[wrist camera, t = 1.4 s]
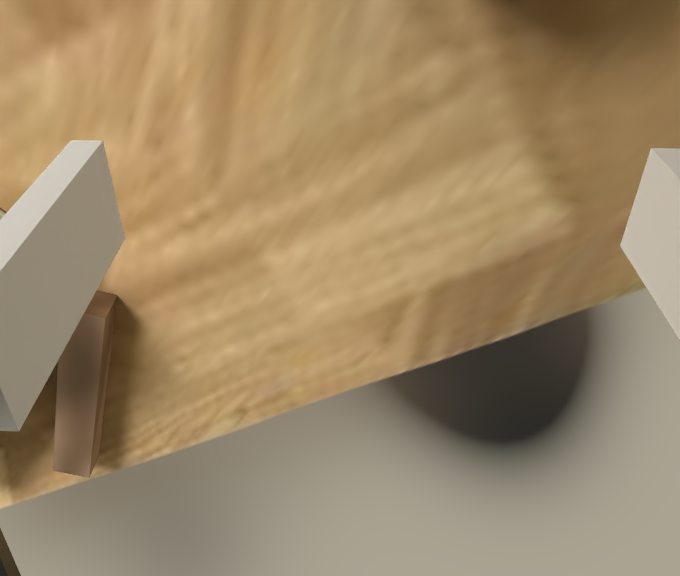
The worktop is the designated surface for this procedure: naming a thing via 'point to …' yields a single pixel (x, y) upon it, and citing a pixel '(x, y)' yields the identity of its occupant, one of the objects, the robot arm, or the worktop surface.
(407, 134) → the worktop surface
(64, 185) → the robot arm
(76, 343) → the bar
